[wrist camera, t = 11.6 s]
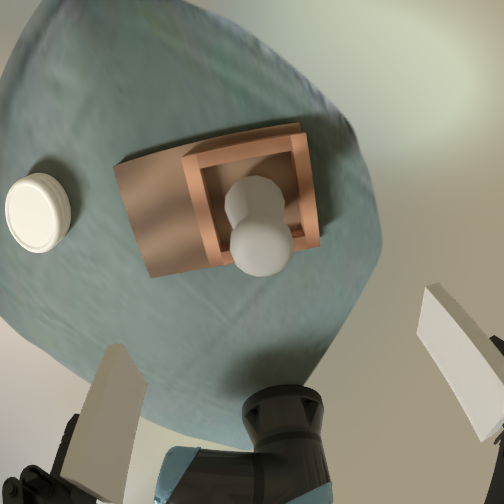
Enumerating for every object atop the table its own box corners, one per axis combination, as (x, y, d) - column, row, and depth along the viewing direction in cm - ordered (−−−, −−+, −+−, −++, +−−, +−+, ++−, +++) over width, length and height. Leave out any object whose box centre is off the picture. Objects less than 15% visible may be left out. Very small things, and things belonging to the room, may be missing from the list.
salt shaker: (288, 181, 30) (322, 227, 18) (270, 230, 32) (288, 299, 20) (235, 163, 29) (233, 198, 17) (218, 214, 31) (207, 278, 19)
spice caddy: (313, 241, 35) (321, 254, 31) (153, 272, 35) (146, 287, 32) (297, 122, 28) (304, 122, 25) (117, 163, 29) (105, 169, 26)
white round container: (57, 160, 28) (42, 165, 25) (83, 232, 33) (71, 244, 30) (10, 187, 29) (-6, 194, 26) (34, 250, 33) (21, 261, 30)
